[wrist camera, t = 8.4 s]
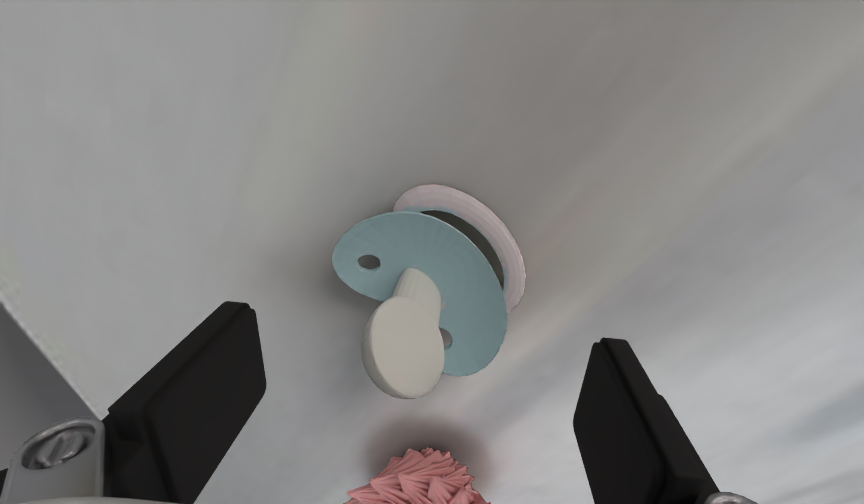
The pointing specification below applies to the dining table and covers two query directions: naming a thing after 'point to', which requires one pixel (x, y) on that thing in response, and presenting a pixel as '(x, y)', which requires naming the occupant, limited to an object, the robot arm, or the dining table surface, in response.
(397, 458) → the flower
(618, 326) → the dining table surface
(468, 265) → the pacifier
